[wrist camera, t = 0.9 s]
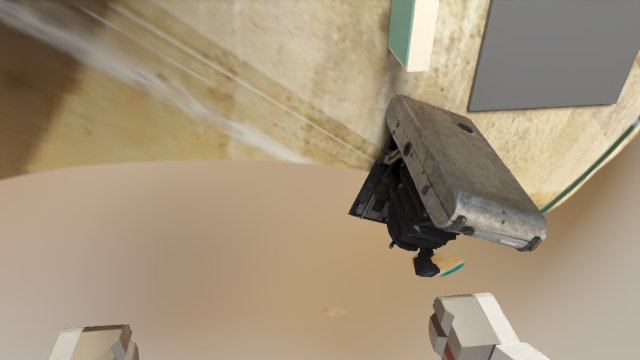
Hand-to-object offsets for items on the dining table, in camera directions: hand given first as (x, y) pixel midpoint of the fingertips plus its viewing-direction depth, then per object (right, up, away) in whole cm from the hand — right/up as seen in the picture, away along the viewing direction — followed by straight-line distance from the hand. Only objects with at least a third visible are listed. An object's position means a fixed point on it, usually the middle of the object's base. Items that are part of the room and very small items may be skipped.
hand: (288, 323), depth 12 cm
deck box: (+9, +20, +31) cm, 38 cm away
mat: (+27, +22, +33) cm, 47 cm away
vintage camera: (+11, +7, +41) cm, 43 cm away
